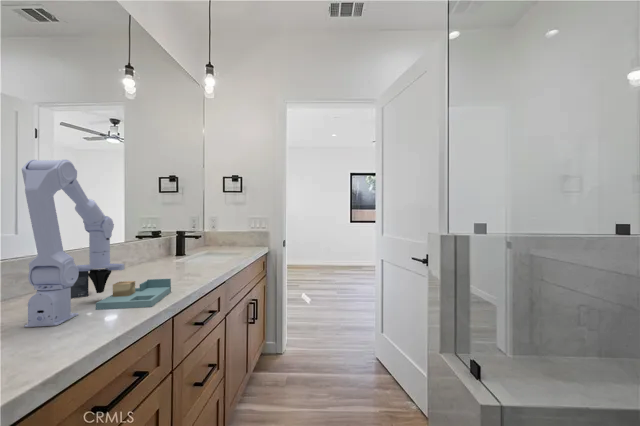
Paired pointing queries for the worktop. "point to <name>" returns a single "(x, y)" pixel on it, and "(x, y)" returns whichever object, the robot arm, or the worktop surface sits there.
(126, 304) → the trap deck
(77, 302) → the worktop surface
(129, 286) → the block
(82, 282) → the box
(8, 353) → the worktop surface
